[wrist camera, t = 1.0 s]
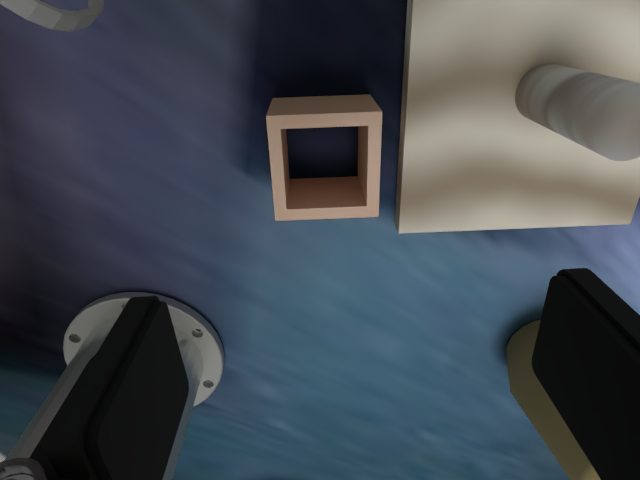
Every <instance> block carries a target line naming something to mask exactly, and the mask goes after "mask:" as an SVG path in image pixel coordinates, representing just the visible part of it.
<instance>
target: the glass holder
mask: <svg viewBox="0 0 640 480" xmlns="http://www.w3.org/2000/svg"><path fill="white" fill-rule="evenodd" d="M0 4H1V5H3V6H4V7H6V8H8V9H9V10H11V11H13V12H14V13H16V14H18V15H19V16H21V17H23V18H24V19H26V20H29V21H31V22H34V23H36V24H39V25H41V26H44V27H46V28H49V29H52V30H62V31H74V30H78V29H82V28H86V27H88V26H90V25H91V24H92V23H93V22H94V20H95V19H96V18H97V17H98V16H99V15H100V13H101V12H102V11H103V7H104V0H88V9H82V10H77V11H73V10H67V9H61V8H56V7H54V6H52V5H49V4H47V3H45V2H43V1H41V0H0Z"/></svg>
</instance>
